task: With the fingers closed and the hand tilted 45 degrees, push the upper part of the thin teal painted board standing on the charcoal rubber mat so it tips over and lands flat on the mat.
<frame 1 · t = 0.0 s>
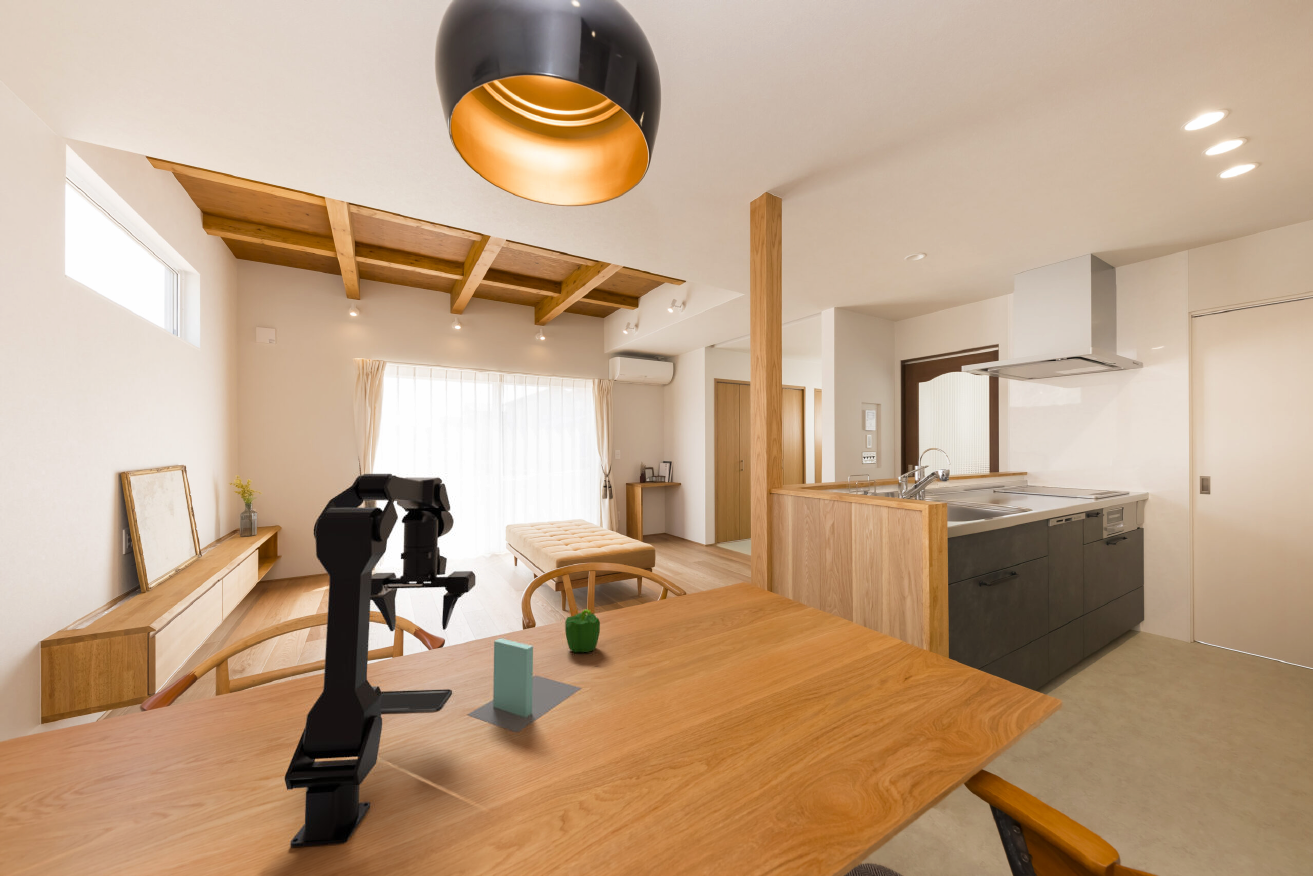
hand: (418, 629, 91), 15 cm above the table, tool pointing down, fingers open, 9 cm apart
mat: (527, 702, 93), on the table
teal board: (512, 710, 90), resting on mat
bell pepper: (582, 650, 119), on the table
phone: (405, 707, 92), on the table
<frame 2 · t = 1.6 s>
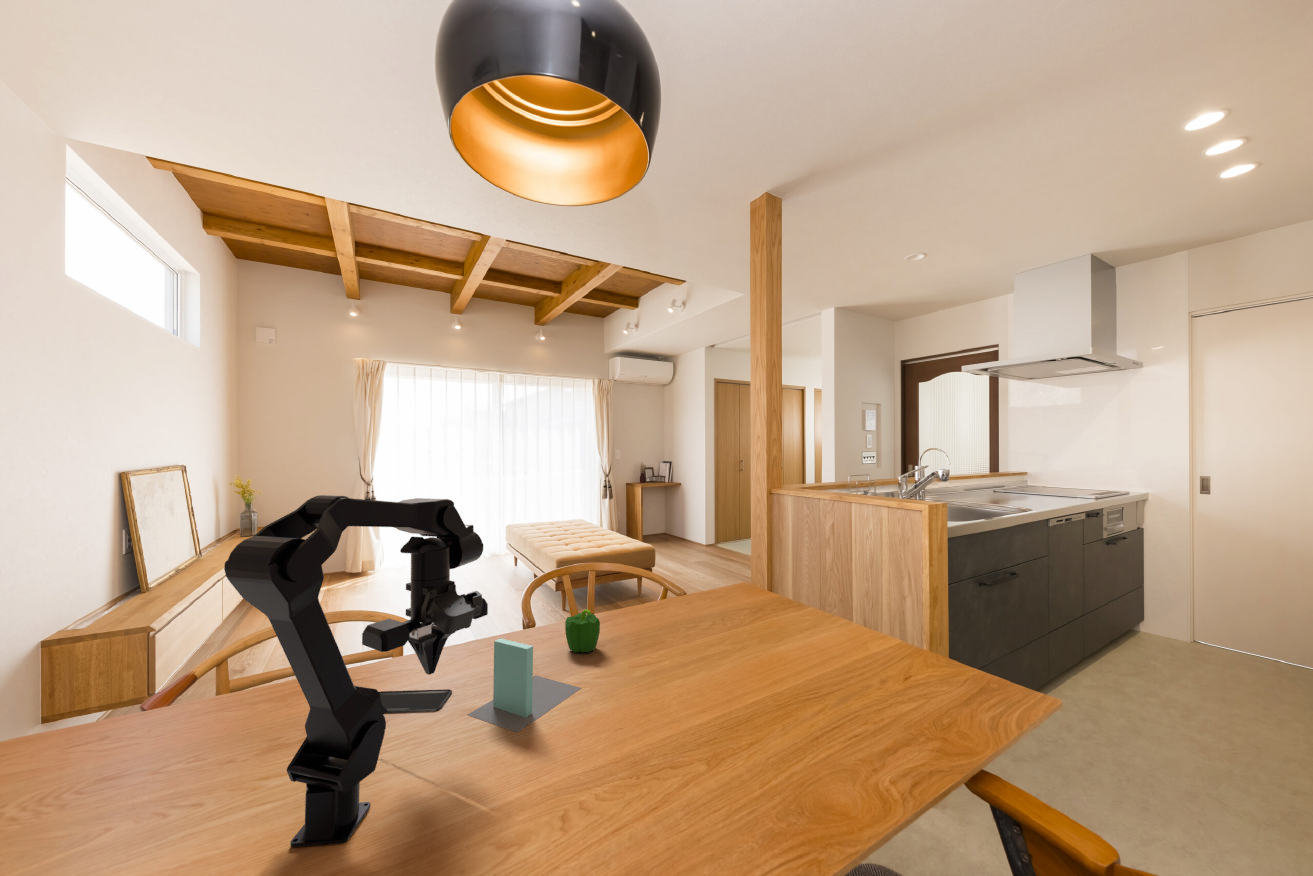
hand: (430, 673, 79), 12 cm above the table, tool pointing down, fingers closed
nothing on the table moved.
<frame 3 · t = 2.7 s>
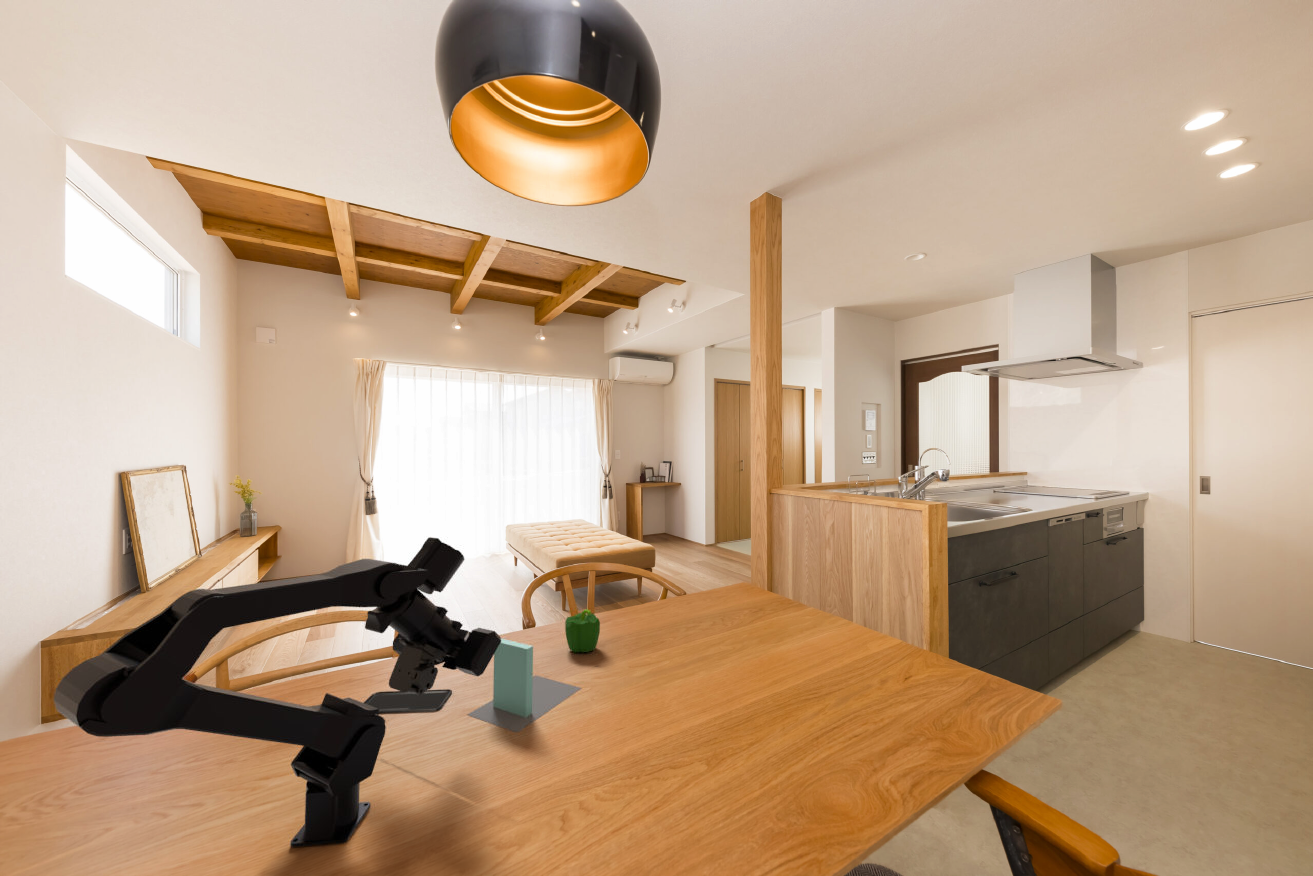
hand: (473, 667, 82), 11 cm above the table, tool tilted 45°, fingers closed
nothing on the table moved.
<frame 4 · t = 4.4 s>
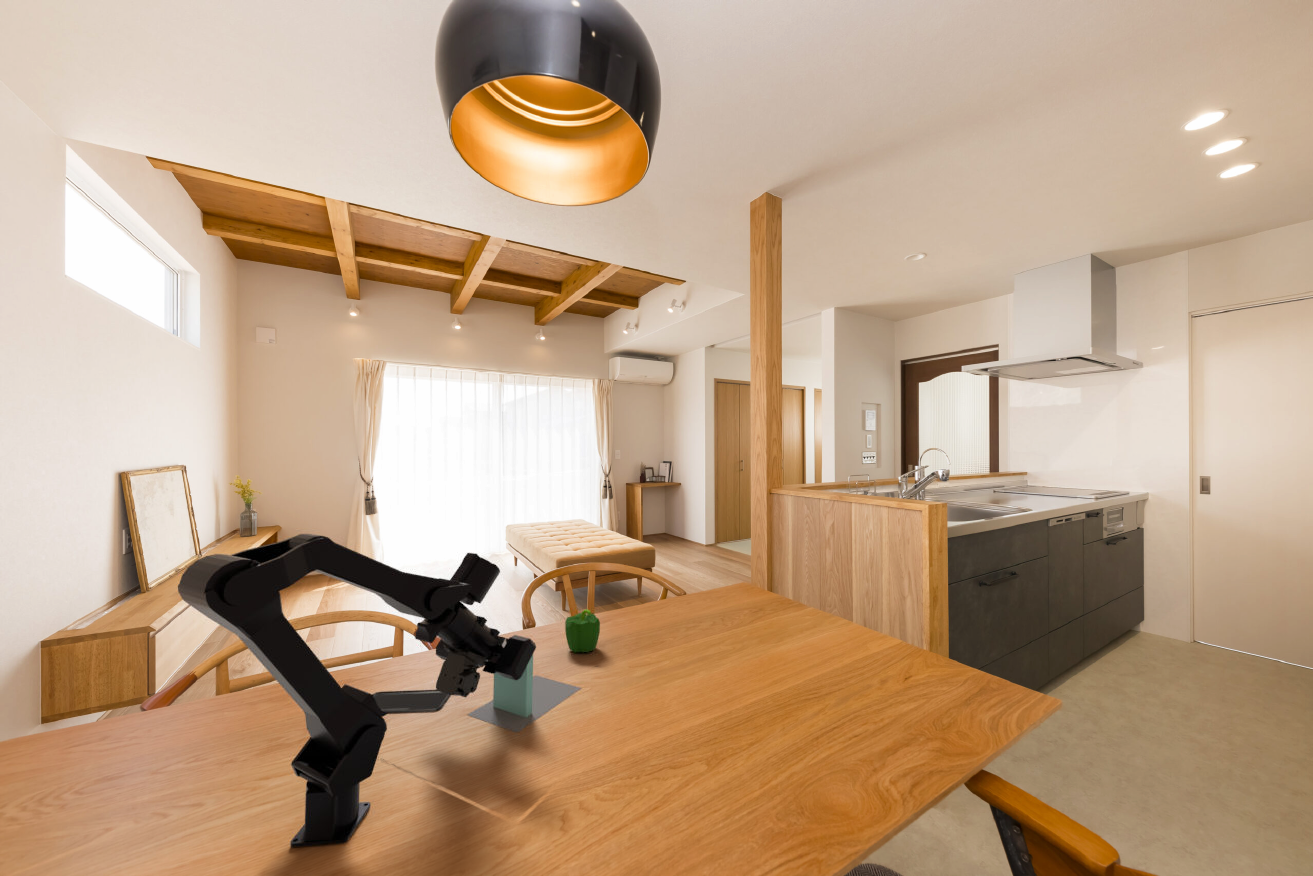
hand: (509, 670, 89), 8 cm above the table, tool tilted 45°, fingers closed, pressing on teal board
teal board: (512, 710, 90), resting on mat, touching gripper
everything else where it was.
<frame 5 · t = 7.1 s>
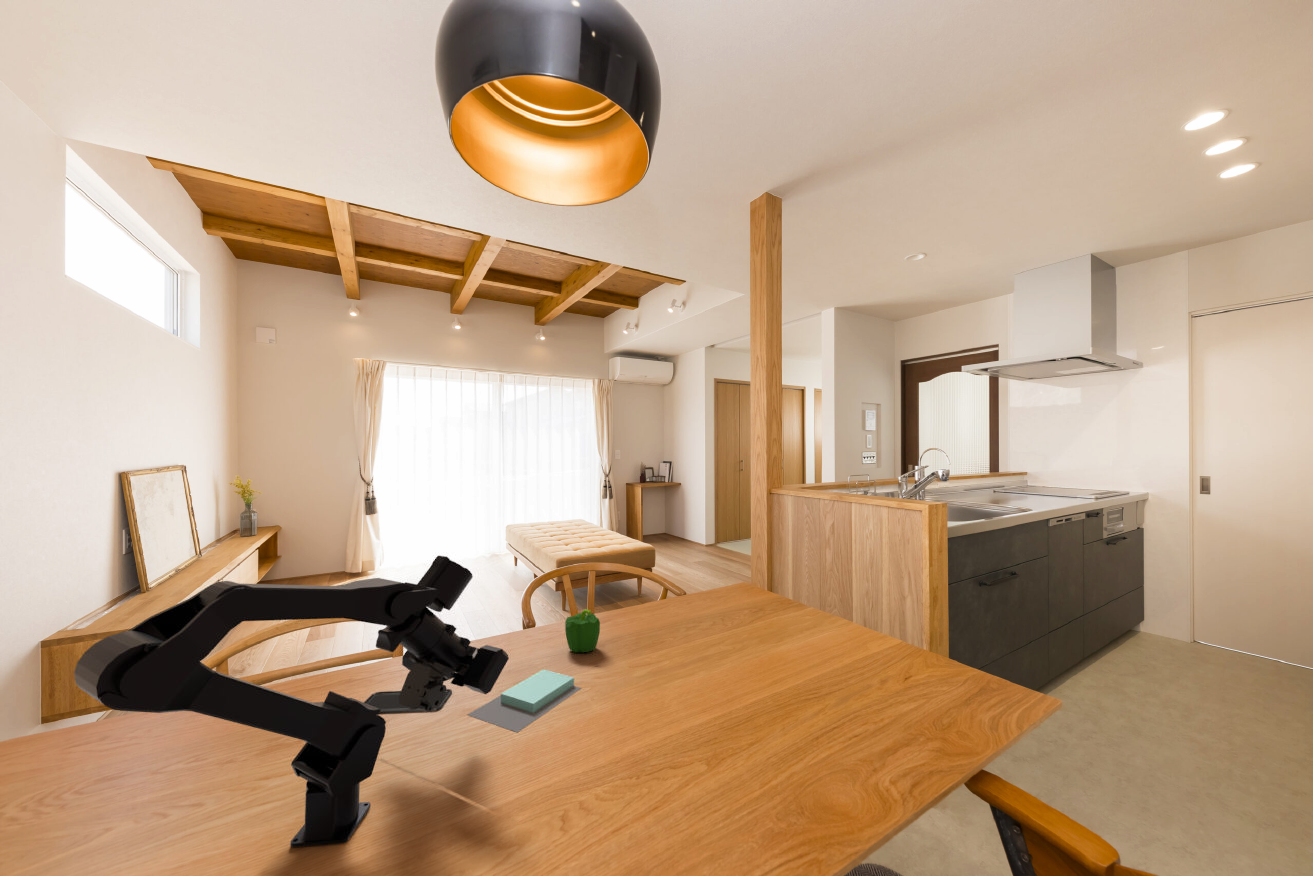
hand: (481, 683, 83), 8 cm above the table, tool tilted 45°, fingers closed
teal board: (516, 703, 91), point 1 cm above the table, tilted 90°, touching mat
everything else where it was.
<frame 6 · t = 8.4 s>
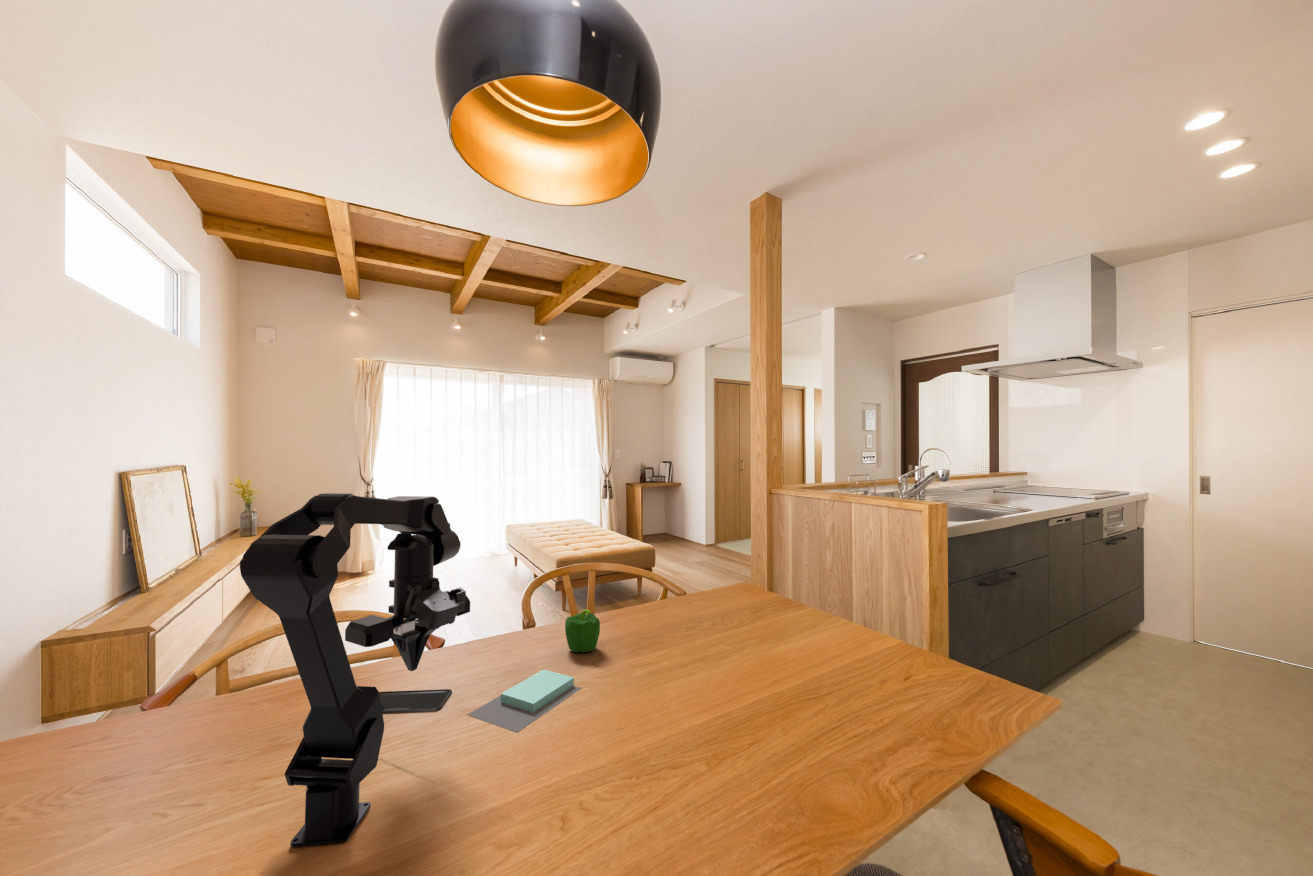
hand: (412, 670, 80), 12 cm above the table, tool pointing down, fingers closed
nothing on the table moved.
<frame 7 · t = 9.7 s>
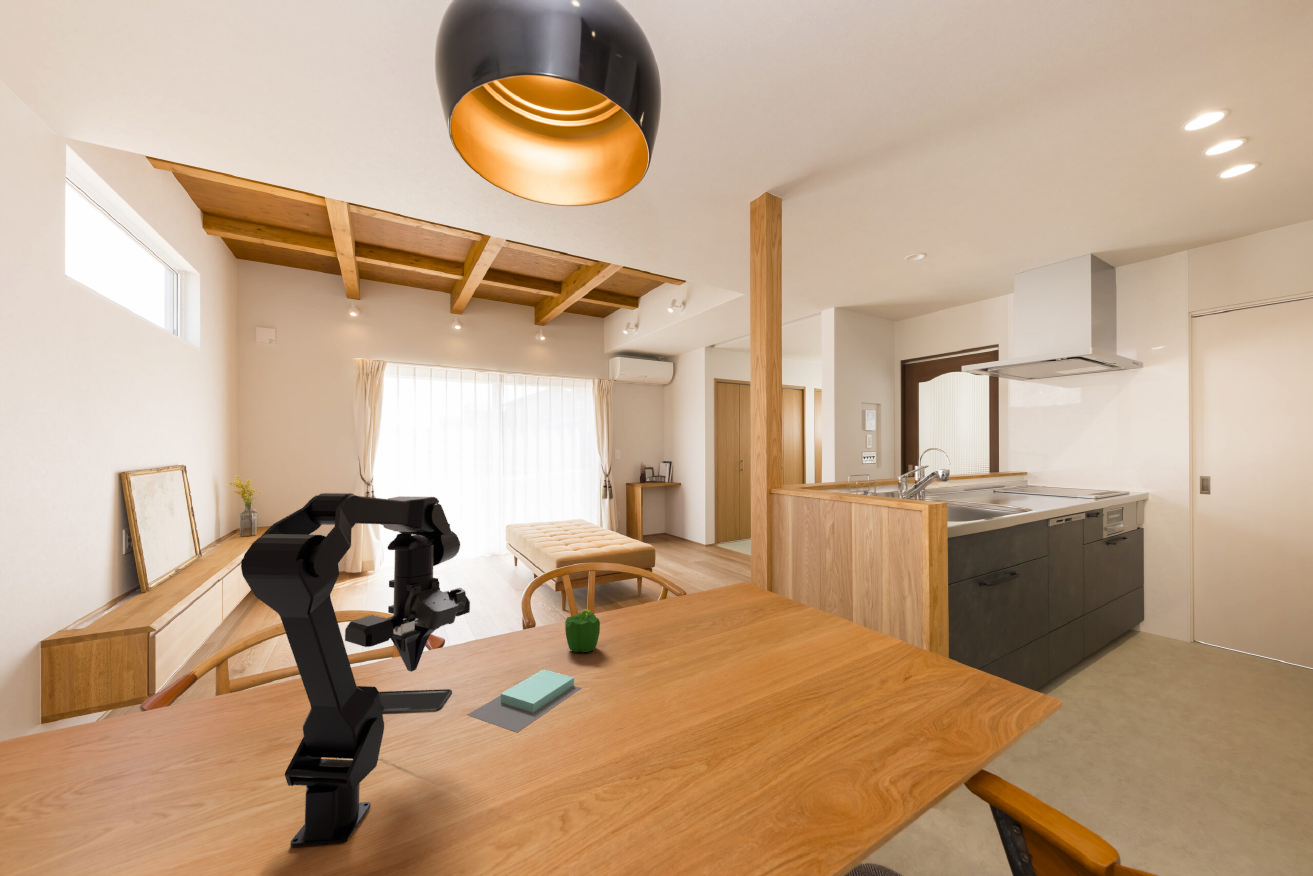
hand: (411, 670, 80), 12 cm above the table, tool pointing down, fingers closed
nothing on the table moved.
at the end: teal board tilted 90°; teal board 2.9 cm from the mat (horizontally); teal board point 1.2 cm above the table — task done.
